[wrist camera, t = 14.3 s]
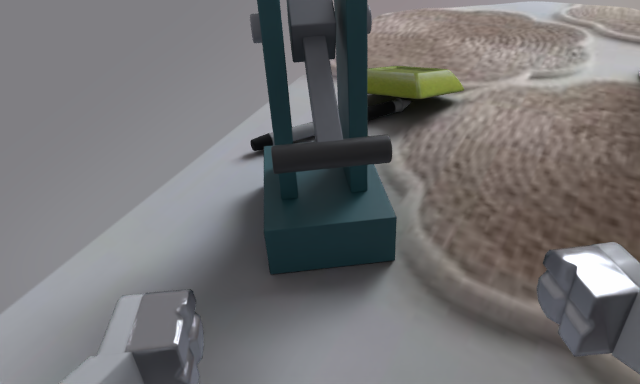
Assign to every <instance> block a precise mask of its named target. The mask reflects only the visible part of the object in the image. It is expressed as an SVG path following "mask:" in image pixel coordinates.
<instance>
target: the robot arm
mask: <svg viewBox="0 0 640 384" xmlns="http://www.w3.org/2000/svg"><path fill="white" fill-rule="evenodd" d="M639 76H640V70H639ZM543 264H544V266H545V267H546V269H547V271H546V272H545V273H544V274H543V275H542V276H541V277H540V278H539V280H538V285H537V295H538V301H539V303H540V306H541V308H542V310H543V312H544V313H545V315H546V316H547V318H549V319H551V320H552V321H554V322H556V323H557V324H559V330H558V334H559V335H560V337H561V338H562V339H563V341H564V342H565V344H566V345H567V347H568V348H569V349H570V351H571V352H572V354H573V355H574V357H576V356H586V355H597V354H608V353H612V355H613V356H614V357H616V358H617V359H618V360H620V361H621V362H623V363H624V364H626V365H627V366H629V367H630V368H631V369H633V370H634V371H636V372H637V373H639V374H640V263H639V262H638V261H637V260H636V259H635V258H634V257H633V256H632V255H631V254H630V253H629V252H628V251H626V250H625V249H624V248H623V247H622V246H621V245H619V244H617V243H615V242H609V243H601V244H593V245H587V246H579V247H570V248H562V249H553V250H549V251H548V252H547V253H546V255H545V258H544V261H543ZM195 308H196V299H195V295H194V292H193V291H192V290H191V289H188V290H176V291H164V292H153V293H145V294H135V295H123V296H122V297H121V298H120V299H119V300H118V301H117V304H116V306H115V309H114V311H113V314H112V317H111V319H110V322H109V324H108V327H107V330H106V332H105V335H104V337H103V340H102V343H101V345H100V348H99V350H98V353H97V356H91V357H88V358H87V359H86V360H85V361H84V362H83V363H82V364H80V365H79V366H78V367H77V368H76V369H75V370H74V371H73V372H71V373H70V374H69V375H68V376H67V377H66V378H65V379H63V380H62V381H61V382H60V383H59V384H199V379H200V374H199V371H198V367H197V364H198V363H199V362H200V361H201V359H202V358H203V350H204V332H203V325H202V321H201V317H200V316H199V315H198V314H197V313H195Z"/></svg>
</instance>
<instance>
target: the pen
mask: <svg viewBox="0 0 640 384" xmlns="http://www.w3.org/2000/svg"><path fill="white" fill-rule="evenodd" d="M411 102H413V101H409V100H402V99H400V98H397V99H396V100H393V101H392V100H391V101H388V102H385V103H381V104H377V105H373V106H370V107H367V120H370V119H374V118H378V117H381V116H385V115H388V114H392V113H395V112H398V111H399V112H401V111H403V109H404V108H405V107H406V106H408V105H409V104H410V103H411ZM292 134H293V142H294V141H297V140H300V139H304V138H307V137H311V136H314V135H315V133H314V126H313V122H310V123H307V124H303V125H299V126H295V127H292ZM273 145H275V144H274V136H273V133H268V134H265V135H263V136H260V137H258V138H255V139H253V140H251V147H252V149H253V150H254V151H257V150H263V149H264V146H273Z"/></svg>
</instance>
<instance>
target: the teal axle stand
mask: <svg viewBox="0 0 640 384" xmlns="http://www.w3.org/2000/svg"><path fill="white" fill-rule="evenodd" d="M257 4H258V12H259V13H258V14H251V15H250V21H251V30H252V37H253V42H254V43H262V45H263V53H264V62H265V70H266V77H267V86H268V95H269V103H270V111H271V119H272V128H273V136H274V144H275V145H285V144H293V134H292V124H291V114H290V103H289V93H288V84H287V73H286V63H285V53H284V42H283V31H282V22H281V10H280V0H257ZM334 6H335V17H336V22H337V24H336V60H337V87H338V112H339V118H340V124H341V129H342V135H343V139H347V138H357V137H367V136H368V121H367V34H369V33H370V32H371V25H372V19H371V10H370V6H369V5H367V0H334ZM315 142H316V141H315ZM304 143H305V142H304ZM294 144H295V143H294ZM273 146H274V145H273ZM264 236H265V243H266V249H267V256H268V263H269V269H270V274H278V273H287V272H296V271H305V270H314V269H322V268H331V267H340V266H349V265H358V264H367V263H376V262H385V261H393V260H395V242H396V215H395V213H394V210H393V208H392V206H391V203H390V201H389V199H388V196H387V194H386V192H385V189H384V187H383V185H382V182H381V180H380V177H379V175H378V173H377V170H376V168H375V166H374V164H371V165H361V166H351V167H341V168H331V169H321V170H311V171H301V172H291V173H281V174H274V171H273V164H272V155H271V146H264Z"/></svg>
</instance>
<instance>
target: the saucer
mask: <svg viewBox="0 0 640 384" xmlns="http://www.w3.org/2000/svg"><path fill="white" fill-rule="evenodd" d="M463 90H464V88H463V86H462V85H461V83H460V82H459V80H458V79H457V78H456V76H455V75H454V74H453V73H452V72H451V71H449V70H448V69H437V68H421V67H406V66H391V67H380V68H370V69H367V94H375V95H384V96H393V97H402V98H412V99H425V98H430V97H434V96H439V95H444V94H449V93H454V92H459V91H463Z"/></svg>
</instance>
